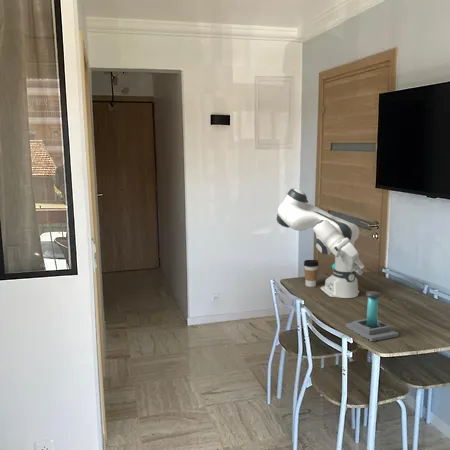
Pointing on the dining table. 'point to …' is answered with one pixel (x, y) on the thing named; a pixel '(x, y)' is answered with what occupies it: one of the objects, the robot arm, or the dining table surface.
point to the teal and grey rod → (372, 309)
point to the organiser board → (372, 330)
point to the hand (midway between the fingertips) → (362, 271)
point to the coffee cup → (310, 272)
